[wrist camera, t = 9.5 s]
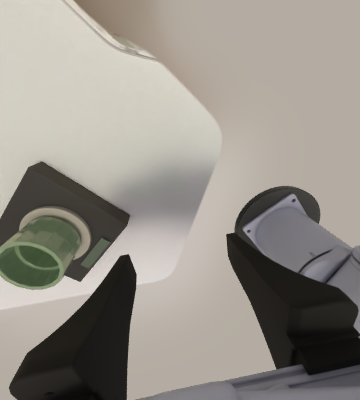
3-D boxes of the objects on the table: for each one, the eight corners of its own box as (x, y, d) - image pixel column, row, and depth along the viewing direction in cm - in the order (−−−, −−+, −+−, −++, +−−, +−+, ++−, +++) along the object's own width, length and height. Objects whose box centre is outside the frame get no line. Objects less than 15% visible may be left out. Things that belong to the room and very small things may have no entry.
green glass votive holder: (92, 237, 21) (77, 267, 17) (61, 264, 22) (39, 297, 18) (47, 204, 19) (17, 230, 15) (15, 236, 20) (-21, 267, 16)
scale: (130, 215, 23) (126, 228, 21) (86, 269, 26) (78, 285, 24) (41, 161, 20) (24, 168, 17) (1, 231, 23) (-18, 246, 20)
